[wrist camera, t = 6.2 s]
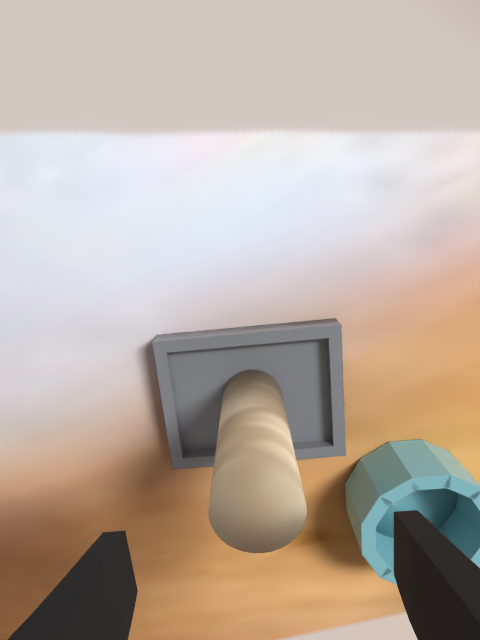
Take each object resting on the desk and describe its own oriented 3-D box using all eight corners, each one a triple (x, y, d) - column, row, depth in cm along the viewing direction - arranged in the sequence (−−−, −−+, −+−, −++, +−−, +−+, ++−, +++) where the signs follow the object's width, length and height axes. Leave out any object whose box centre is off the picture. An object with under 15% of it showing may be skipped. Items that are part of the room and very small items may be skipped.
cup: (466, 435, 20) (503, 470, 17) (461, 536, 22) (494, 584, 19) (343, 445, 21) (360, 481, 18) (347, 544, 22) (362, 592, 19)
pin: (278, 366, 19) (302, 465, 11) (284, 420, 20) (310, 548, 12) (219, 373, 19) (201, 475, 11) (227, 426, 20) (216, 557, 12)
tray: (335, 318, 19) (341, 324, 18) (339, 442, 20) (345, 455, 19) (157, 334, 19) (152, 341, 18) (176, 455, 21) (172, 469, 20)
